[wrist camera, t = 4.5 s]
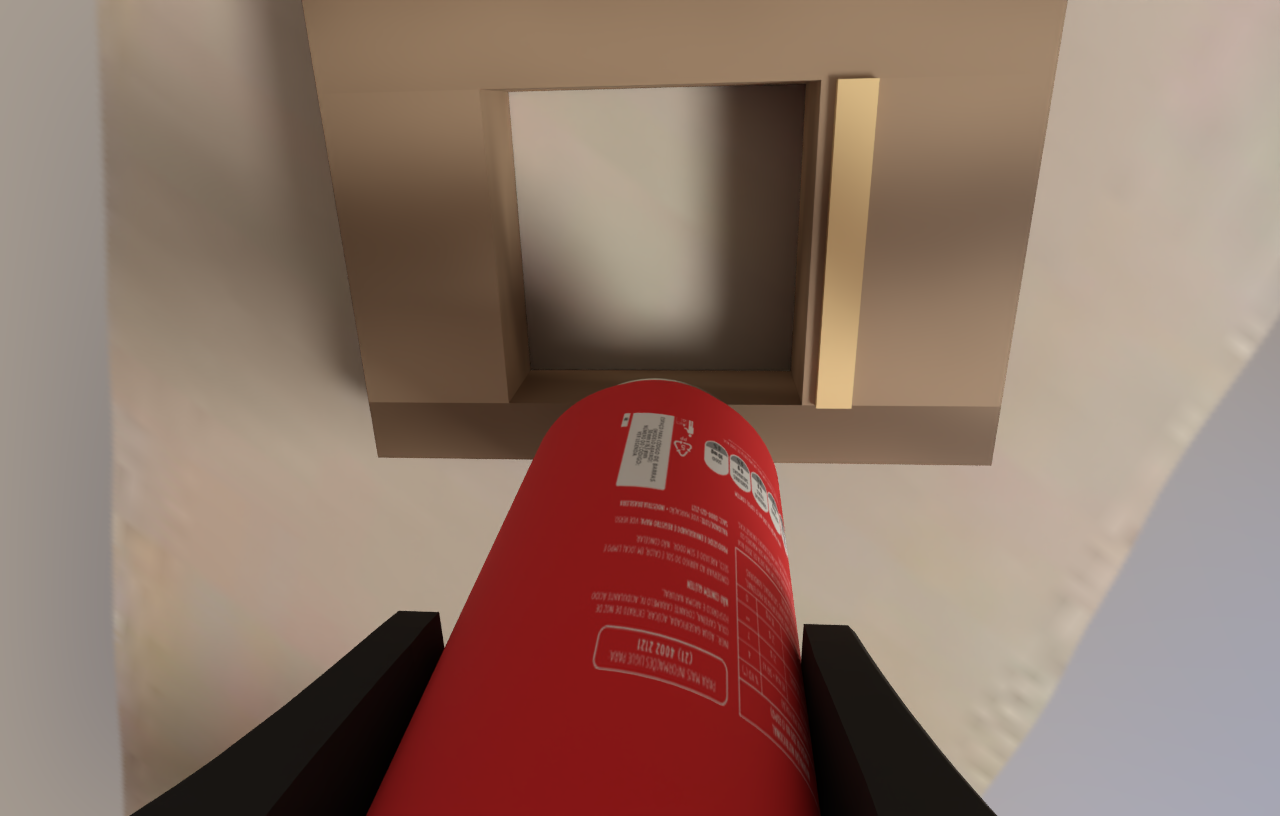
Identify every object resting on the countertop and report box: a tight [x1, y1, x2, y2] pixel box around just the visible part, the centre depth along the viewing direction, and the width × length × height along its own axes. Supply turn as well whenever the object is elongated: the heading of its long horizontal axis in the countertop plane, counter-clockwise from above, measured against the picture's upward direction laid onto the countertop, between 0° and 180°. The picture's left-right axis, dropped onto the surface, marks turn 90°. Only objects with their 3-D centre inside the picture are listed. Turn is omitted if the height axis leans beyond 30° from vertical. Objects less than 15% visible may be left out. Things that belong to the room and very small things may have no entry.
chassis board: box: [302, 0, 1068, 466], centre depth 17 cm, size 16×15×3 cm
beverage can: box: [366, 378, 821, 816], centre depth 11 cm, size 5×5×12 cm
